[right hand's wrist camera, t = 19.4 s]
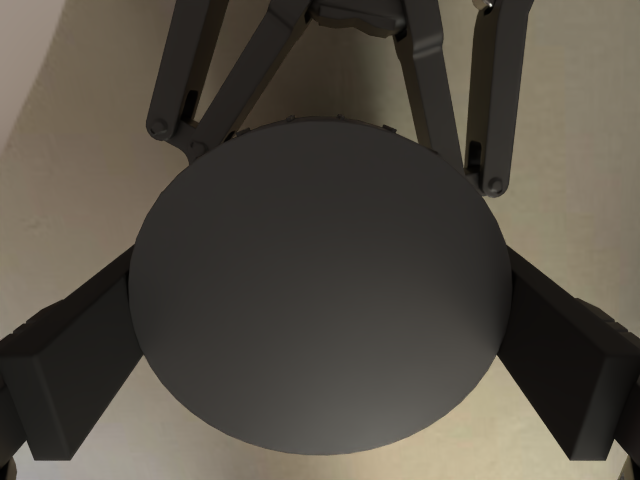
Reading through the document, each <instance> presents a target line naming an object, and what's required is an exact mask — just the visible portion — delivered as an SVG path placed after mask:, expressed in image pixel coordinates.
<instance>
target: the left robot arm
mask: <svg viewBox="0 0 640 480" xmlns="http://www.w3.org/2000/svg"><path fill="white" fill-rule="evenodd" d="M228 2H229V0H177V1H176V5H175V8H174V12H173V16H172V20H171V24H170V28H169V32H168V36H167V40H166V44H165V48H164V52H163V56H162V60H161V64H160V68H159V72H158V76H157V80H156V84H155V88H154V92H153V96H152V100H151V104H150V108H149V112H148V116H147V120H146V128H147V131H148V133H149V134H150V136H151V137H153V138H154V139H156V140H160V141H166V142H168V143H170V144H171V145H173V146H175V147H177V148H179V149H180V150H182V151H183V152H184V153H185V154H186V156H187V158H188V161H189V165H190V164H192V163H193V160H192V159H194V158H195V157H197V156H199V155H201V154H204V153H206V152H208V151H210V150H212V149H214V148H215V147H217V146H219V145H220V144H222V143H224V142H226V141H228V140H231V139H232V138H233V137H234V135H235V133H236V132H237V131H238V129H239V128H240V126H241V125H242V123H243V122H244V120H245V118H246V117H247V115H248V114H249V112H250V111H251V109H252V108H253V106H254V105H255V103H256V102H257V100H258V99H259V97H260V95H261V94H262V92H263V91H264V89H265V88H266V86H267V85H268V83H269V82H270V80H271V79H272V77H273V76H274V74H275V72H276V71H277V69H278V68H279V66H280V65H281V63H282V62H283V60H284V59H285V57H286V56H287V54H288V53H289V51H290V50H291V48H292V46H293V45H294V43H295V42H296V41H297V40H298V39H299V38H300V37H301V35H302V34H303V32H304V31H305V29H306V28H307V26H308V25H309V23H310V21H311V20H312V18H313V19H314V20H315V21H317V22H319V25H320V26H325V27H330V28H335V29H336V28H345V27H355V28H357V29H359V30H361V31H362V32H364V33H366V34H368V35H371V36H376V37H381V38H386V37H388V36H390V35H392V36H393V40H394V45H395V49H396V53H397V56H398V59H399V61H400V63H401V66H402V70H403V75H404V79H405V84H406V89H407V93H408V98H409V102H410V107H411V111H412V116H413V121H414V125H415V130H416V134H417V139H418V143H419V144H420V145H422V146H426V147H428V148H430V149H432V150H435V151H437V152H439V153H440V154H441V156H440V157H441V158H443V159H444V160H446V161H447V162H448V163H449V164H450V165H452V166H453V167H454V168H455V169H456V170H457V171H458V172H459V173H461V174H462V175H463V176H464V177H465V178H466V179H467V180H468V181H469V182H470V183H471V184H472V185H474V186H475V188H476V191H477V192H478V193H479V194H480V195H481V197H482V196H489V197H493V198H495V197H499V196H501V195H502V194H504V193H505V191H506V190H507V188H508V185H509V178H510V169H511V160H512V152H513V143H514V134H515V126H516V117H517V108H518V100H519V91H520V82H521V74H522V65H523V56H524V48H525V39H526V30H527V21H528V13H529V11H530V9H531V6H532V4H533V2H534V0H472V2H473V5H474V6H475V7H476V8H477V9H479V12H478V15H477V19H476V24H475V29H474V37H473V49H472V63H471V78H470V92H469V107H468V121H467V135H466V150H465V164H464V168H463V162H462V157H461V151H460V146H459V140H458V135H457V129H456V124H455V118H454V112H453V107H452V101H451V96H450V90H449V85H448V79H447V74H446V68H445V63H444V57H443V51H442V44H443V28H442V22H441V16H440V11H439V5H438V0H271V1H270V4H269V6H268V10H267V13H266V15H265V16H264V18H263V20H262V21H261V23H260V25H259V26H258V28H257V29H256V31H255V33H254V34H253V36H252V38H251V39H250V41H249V43H248V44H247V46H246V47H245V49H244V51H243V52H242V54H241V56H240V57H239V59H238V61H237V62H236V64H235V65H234V67H233V69H232V70H231V72H230V74H229V75H228V77H227V79H226V80H225V82H224V83H223V85H222V87H221V88H220V90H219V92H218V93H217V95H216V96H215V98H214V100H213V101H212V103H211V105H210V106H209V108H208V110H207V111H206V113H205V114H204V116H203V118H202V119H201V121H200V123H198V122H196V121H194V117H195V113H196V110H197V107H198V103H199V100H200V96H201V93H202V90H203V86H204V83H205V79H206V76H207V73H208V69H209V66H210V63H211V59H212V56H213V52H214V49H215V46H216V42H217V39H218V36H219V32H220V29H221V25H222V22H223V19H224V15H225V12H226V9H227V5H228Z"/></svg>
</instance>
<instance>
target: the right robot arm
mask: <svg viewBox="0 0 640 480" xmlns="http://www.w3.org/2000/svg"><path fill="white" fill-rule="evenodd" d="M134 245H135V244H134ZM134 245H133V246H132V247H130V248H129V249H128V250H126V251H125V252H124V253H123V254H121V255H120V256H119V257H117V258H116V259H115V260H114V261H112V262H111V263H110V264H109V265H107V266H106V267H105V268H103V269H102V270H101V271H100V272H98V273H97V274H96V275H94V276H93V277H92V278H91V279H89V280H88V281H87V282H86V283H84V284H83V285H82V286H80V287H79V288H78V289H77V290H75V291H74V292H73V293H71V294H70V295H69V296H68V297H66V298H65V299H64V300H60V301H58V302H56V303H54V304H52V305H50V306H48V307H46V308H44V309H42V310H40V311H39V312H38V313H36V314H35V315H34V316H32V317H31V318H30V319H28V320H27V321H26V324H22V325H21V326H19V327H18V328H17V329H15V330H14V331H13V334H9V335H7V336H6V337H5V338H3V339H2V340H1V341H0V480H16V475H17V469H16V464H15V461H14V459H13V457H12V456H13V455H14V454H15V453H16V452H17V450H18V449H19V448H20V447H21V446H22V445H23V443H24V442H25V441H26V440H27V443H28V445H29V448H30V450H31V453H32V455H33V458H34V461H70V460H71V459H72V457H73V456H74V454H75V453H76V451H77V450H78V449H79V447H80V446H81V444H82V443H83V441H84V440H85V438H86V437H87V436H88V434H89V433H90V431H91V430H92V428H93V427H94V425H95V424H96V423H97V421H98V420H99V418H100V417H101V415H102V414H103V412H104V411H105V409H106V408H107V407H108V405H109V404H110V402H111V401H112V399H113V398H114V396H115V395H116V394H117V392H118V391H119V389H120V388H121V386H122V385H123V383H124V382H125V381H126V379H127V378H128V376H129V375H130V373H131V372H132V370H133V369H134V367H135V366H136V365H137V363H138V362H139V360H140V359H141V357H142V356H143V352H142V350H141V348H140V345H139V342H138V339H137V337H136V334H135V331H134V328H133V323H132V318H131V314H130V309H129V297H128V278H129V269H130V260H131V256H132V253H133V249H134ZM506 246H507V245H506ZM507 251H508V255H509V259H510V264H511V273H512V287H513V291H512V303H511V311H510V315H509V320H508V324H507V329H506V333H505V336H504V338H503V341H502V343H501V346H500V348H499V351H498V353H497V356H498V357H499V358H500V360H501V361H502V363H503V364H504V366H505V367H506V369H507V370H508V371H509V373H510V374H511V376H512V377H513V379H514V380H515V382H516V383H517V385H518V386H519V387H520V389H521V390H522V392H523V393H524V395H525V396H526V398H527V399H528V400H529V402H530V403H531V405H532V406H533V408H534V409H535V411H536V412H537V413H538V415H539V416H540V418H541V419H542V421H543V422H544V424H545V425H546V426H547V428H548V429H549V431H550V432H551V434H552V435H553V437H554V438H555V440H556V441H557V442H558V444H559V445H560V447H561V448H562V450H563V451H564V453H565V454H566V455H567V457H568V458H569V460H570V461H606V459H607V456H608V454H609V451H610V449H611V446H612V444H613V441H614V439H615V440H616V441H617V442H618V443H619V444H620V446H621V447H622V448H623V449H624V450H625V451H626V453H627V454H628V457H627V459H626V461H625V464H624V466H623V468H622V471H621V473H620V476H619V478H618V480H640V339H639V338H638V337H637V336H635V335H634V334H633V333H631V332H628V330H627V329H626V328H625V327H623V326H622V325H621V324H619V323H618V322H615V320H614V319H613V318H611V317H610V316H609V315H607V314H606V313H605V312H603V311H602V310H601V309H599V308H598V307H596V306H593V305H591V304H589V303H587V302H585V301H583V300H581V299H579V298H574V297H573V296H571V295H570V294H569V293H568V292H566V291H565V290H564V289H562V288H561V287H560V286H559V285H557V284H556V283H555V282H553V281H552V280H551V279H550V278H548V277H547V276H546V275H545V274H543V273H542V272H541V271H539V270H538V269H537V268H536V267H534V266H533V265H532V264H530V263H529V262H528V261H527V260H525V259H524V258H523V257H522V256H520V255H519V254H518V253H516V252H515V251H514V250H513V249H511V248H510V247H509V246H507Z"/></svg>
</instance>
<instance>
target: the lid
mask: <svg viewBox="0 0 640 480" xmlns="http://www.w3.org/2000/svg"><path fill="white" fill-rule="evenodd" d="M396 131H397V130H396V129H394V128H391V127H389V126H386V125H383V127H379V126H376V125H373V124H369V123H366V122H363V121H358V120H352V119H345V117H344V116H343V115H341V114H338V117H303V118H295V115H291V116H289V117H288V118H286V120H282V121H279V122H275V123H271V124H267V125H264V126H261V127H258V128H256V129H254V130H250V128H247V129H244V130H242V131H239V132H237V133H235V134H236V136H237V137H235V138H233V139H231V140H228V141H226V142H224V143H222V144H220V145H219V146H217V147H215V148H214V149H212V150H210V151H208V152H206V153H204V154H201V155H199V156H197V157H195V158H194V159H192V160H193V163H192V164H190V165H189V166H188V167H187V168H186V169H184V170H183V171H182V172H181V173H179V174H178V175H177V176H176V177H175V179H174V180H173V181H172V182H171V183H170V184H169V185H168V186H167V187H166V189H165V190H164V191H163V192H161V194H160V196H159V197H158V199H157V200H156V202H155V203H154V205H153V206H152V208H151V209H150V211H149V213H148V214H147V216H146V218H145V220H144V222H143V224H142V227H141V229H140V231H139V233H138V236H137V238H136V242H135V245H134V249H133V253H132V256H131V260H130V269H129V278H128V297H129V309H130V314H131V318H132V323H133V328H134V331H135V334H136V337H137V339H138V342H139V345H140V348H141V350H142V352H143V354H144V355H145V357H146V359H147V361H148V363H149V365H150V367H151V368H152V370H153V371H154V373H155V374H156V375H157V377H158V378H159V380H160V381H161V383H162V384H163V385H164V386H165V387H166V388H167V389H168V391H169V392H170V393H171V394H172V395H173V396H174V397H175V398H176V399H177V400H178V401H179V402H180V403H181V404H182V405H184V406H185V407H186V408H187V409H188V410H189V411H190V412H192V413H193V414H194V415H196V416H197V417H199V418H200V419H202V420H203V421H204V422H206V423H207V424H209V425H211V426H212V427H214V428H216V429H218V430H220V431H222V432H223V433H225V434H227V435H229V436H232V437H234V438H236V439H239V440H241V441H244V442H246V443H249V444H252V445H256V446H259V447H262V448H265V449H270V450H275V451H280V452H285V453H292V454H302V455H338V454H350V453H355V452H361V451H366V450H371V449H374V448H378V447H381V446H385V445H389V444H391V443H394V442H396V441H399V440H402V439H404V438H407V437H409V436H411V435H413V434H415V433H417V432H419V431H421V430H423V429H425V428H427V427H428V426H430V425H431V424H433V423H434V422H436V421H437V420H439V419H440V418H442V417H443V416H445V415H446V414H447V413H449V412H450V411H451V410H452V409H453V408H455V407H456V406H457V405H458V404H459V403H461V402H462V401H463V400H464V398H465V397H466V396H467V395H468V394H469V393H470V392H471V391H472V390H473V389H474V388H475V387H476V386H477V384H478V383H479V381H480V380H481V379H482V377H483V376H484V375H485V373H486V372H487V371H488V369H489V367H490V365H491V364H492V362H493V360H494V358H495V357H496V355H497V353H498V351H499V348H500V346H501V343H502V341H503V338H504V336H505V333H506V329H507V324H508V320H509V315H510V311H511V303H512V291H513V287H512V273H511V264H510V259H509V255H508V251H507V246H506V243H505V240H504V238H503V235H502V233H501V230H500V228H499V225H498V223H497V220H496V219H495V217H494V215H493V214H492V212H491V210H490V209H489V207H488V205H487V204H486V202H485V200H484V199H483V198H482V197H481V195H480V194H479V193H478V192H477V191H476V188H475V186H474V185H472V184H471V183H470V182H469V181H468V180H467V179H466V178H465V177H464V176H463V175H462V174H461V173H459V172H458V171H457V170H456V169H455V168H454V167H453V166H452V165H450V164H449V163H448V162H447V161H446V160H444V159H443V158H441V157H440V156H441V154H440V153H439V152H437V151H435V150H432V149H430V148H428V147H426V146H422V145H420V144H418V143H416V142H414V141H411V140H409V139H407V138H405V137H403V136H401V135H398V134H396Z"/></svg>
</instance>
